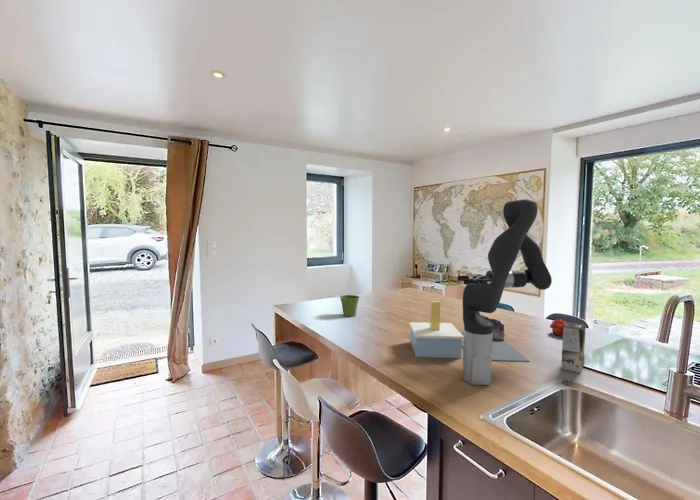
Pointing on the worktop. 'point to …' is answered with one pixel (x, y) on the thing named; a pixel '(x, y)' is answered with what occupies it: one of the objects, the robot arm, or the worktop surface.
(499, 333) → the geode
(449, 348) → the tub
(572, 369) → the coffee box
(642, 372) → the worktop surface
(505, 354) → the mat
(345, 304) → the plant pot
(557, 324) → the dragon fruit
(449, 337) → the lid
